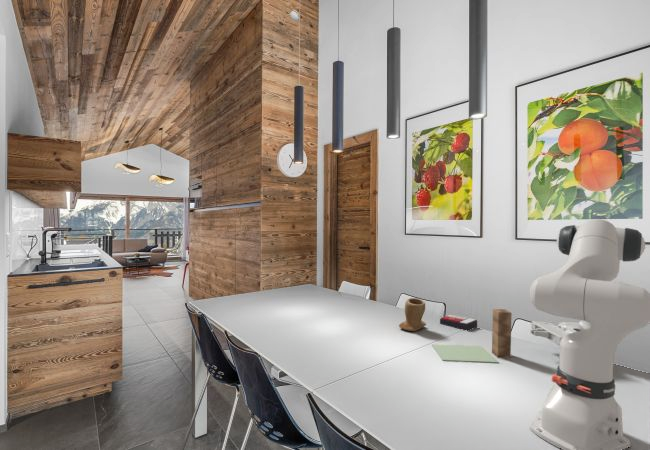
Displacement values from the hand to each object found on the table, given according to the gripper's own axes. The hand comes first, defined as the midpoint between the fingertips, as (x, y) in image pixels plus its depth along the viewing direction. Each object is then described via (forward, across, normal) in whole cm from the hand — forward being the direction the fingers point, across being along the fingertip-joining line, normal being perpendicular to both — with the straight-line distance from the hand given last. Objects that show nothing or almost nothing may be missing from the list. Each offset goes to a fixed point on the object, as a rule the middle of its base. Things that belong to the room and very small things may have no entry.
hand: (532, 332), depth 133 cm
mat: (+27, 0, +10) cm, 29 cm away
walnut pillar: (+12, 0, +10) cm, 16 cm away
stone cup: (+41, -30, +10) cm, 52 cm away
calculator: (+16, -38, +10) cm, 43 cm away
